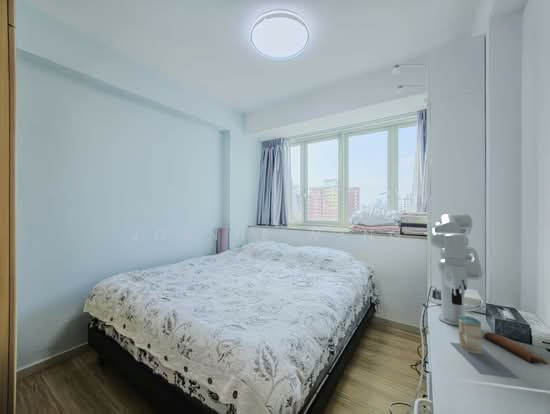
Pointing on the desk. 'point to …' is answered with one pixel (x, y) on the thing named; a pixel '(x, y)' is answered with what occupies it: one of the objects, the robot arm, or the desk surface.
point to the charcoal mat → (485, 363)
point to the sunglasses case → (514, 348)
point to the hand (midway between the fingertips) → (456, 304)
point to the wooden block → (470, 334)
